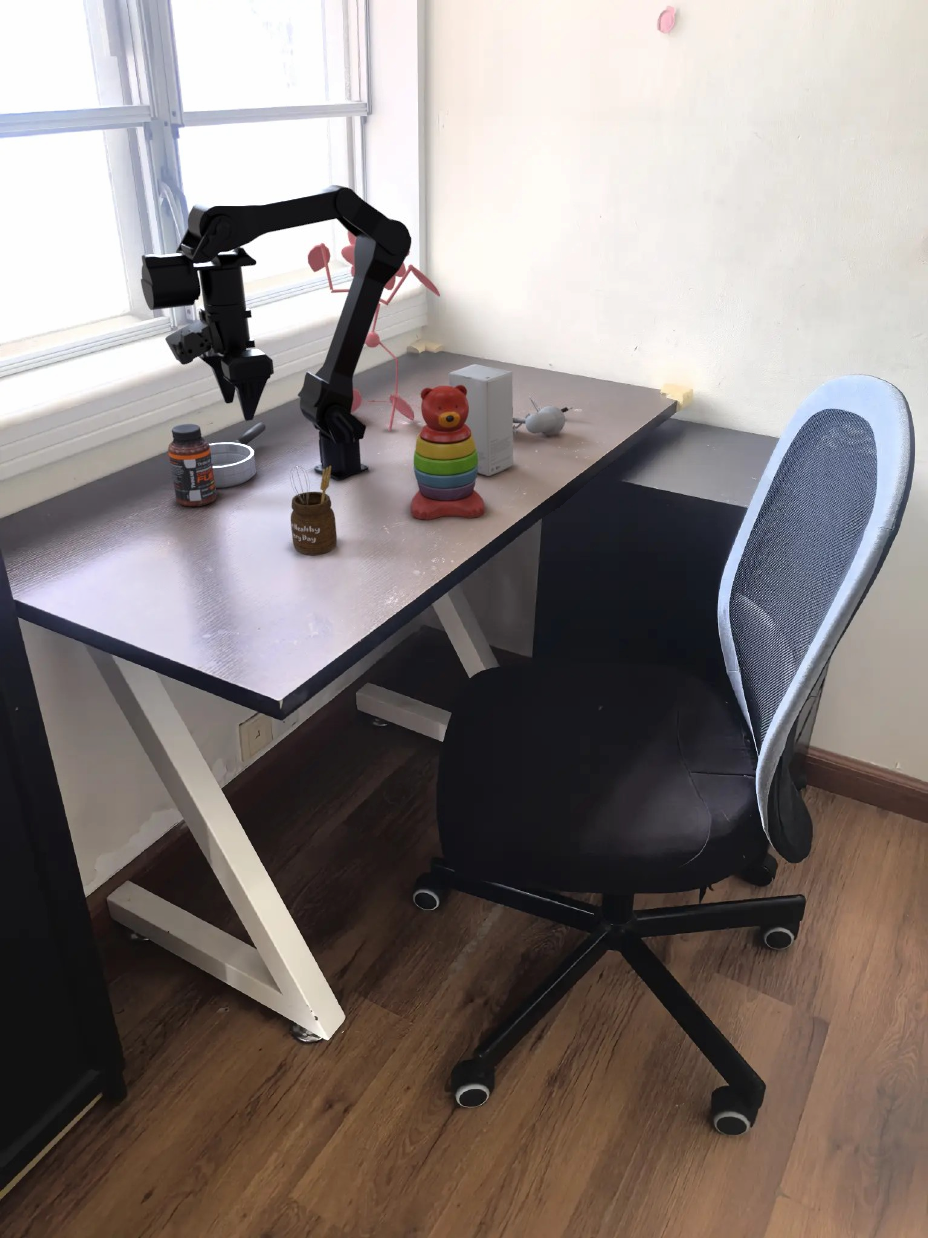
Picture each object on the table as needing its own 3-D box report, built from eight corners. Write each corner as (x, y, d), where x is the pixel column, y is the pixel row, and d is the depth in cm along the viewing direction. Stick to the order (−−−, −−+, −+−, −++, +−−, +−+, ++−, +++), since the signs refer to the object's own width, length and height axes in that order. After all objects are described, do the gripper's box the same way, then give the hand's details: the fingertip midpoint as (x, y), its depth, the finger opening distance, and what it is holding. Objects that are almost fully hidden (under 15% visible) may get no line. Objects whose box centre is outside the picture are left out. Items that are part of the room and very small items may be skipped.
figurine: (430, 439, 161) (425, 223, 143) (304, 419, 170) (285, 214, 153) (466, 413, 173) (465, 211, 155) (347, 396, 182) (334, 203, 165)
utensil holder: (311, 533, 129) (303, 451, 123) (348, 543, 126) (341, 460, 120) (284, 549, 124) (274, 465, 118) (321, 560, 122) (313, 475, 115)
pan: (270, 475, 147) (267, 454, 145) (210, 494, 140) (207, 473, 139) (231, 457, 154) (228, 437, 152) (172, 475, 147) (168, 455, 145)
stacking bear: (411, 521, 132) (407, 399, 123) (408, 493, 141) (404, 377, 132) (486, 517, 133) (487, 396, 124) (478, 490, 142) (479, 375, 133)
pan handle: (238, 453, 150) (236, 443, 149) (229, 452, 150) (227, 443, 150) (267, 430, 160) (266, 421, 159) (259, 429, 160) (258, 420, 159)
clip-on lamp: (523, 428, 175) (482, 436, 159) (524, 394, 173) (482, 398, 158) (582, 431, 170) (545, 440, 154) (583, 396, 168) (546, 401, 152)
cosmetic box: (514, 467, 150) (516, 371, 142) (486, 478, 146) (487, 380, 138) (475, 454, 155) (476, 361, 147) (448, 465, 151) (447, 370, 143)
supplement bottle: (207, 509, 136) (195, 436, 130) (169, 506, 137) (156, 433, 131) (224, 494, 141) (213, 422, 135) (187, 491, 142) (175, 419, 136)
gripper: (149, 295, 131) (167, 402, 139) (184, 322, 117) (202, 439, 125) (225, 287, 136) (239, 391, 144) (268, 312, 122) (280, 425, 130)
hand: (238, 411), depth 136 cm, fingers open, 9 cm apart
